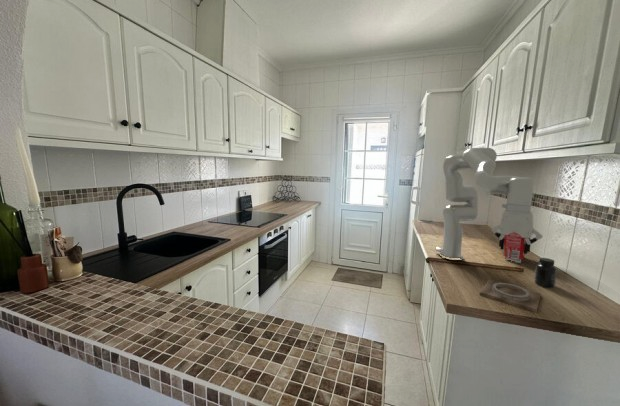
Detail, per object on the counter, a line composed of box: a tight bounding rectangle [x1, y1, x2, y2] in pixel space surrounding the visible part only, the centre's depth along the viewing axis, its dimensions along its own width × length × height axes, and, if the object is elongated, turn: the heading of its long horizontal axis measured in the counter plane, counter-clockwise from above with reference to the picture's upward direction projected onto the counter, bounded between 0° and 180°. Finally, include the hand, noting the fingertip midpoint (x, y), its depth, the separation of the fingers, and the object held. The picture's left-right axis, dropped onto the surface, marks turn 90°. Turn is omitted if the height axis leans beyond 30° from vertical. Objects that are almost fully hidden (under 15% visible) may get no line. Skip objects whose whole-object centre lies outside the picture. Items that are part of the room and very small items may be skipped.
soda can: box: [502, 231, 526, 260], centre depth 102 cm, size 7×7×12 cm
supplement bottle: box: [534, 257, 557, 289], centre depth 112 cm, size 7×7×12 cm
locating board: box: [479, 279, 542, 313], centre depth 105 cm, size 18×16×3 cm
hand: (513, 250), depth 102 cm, fingers closed on soda can, 7 cm apart
